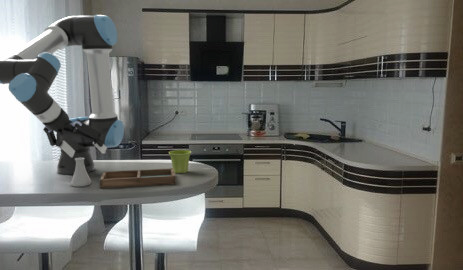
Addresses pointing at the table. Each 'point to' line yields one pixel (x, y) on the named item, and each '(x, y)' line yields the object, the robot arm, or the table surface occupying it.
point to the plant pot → (180, 160)
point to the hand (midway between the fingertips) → (88, 152)
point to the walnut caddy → (137, 178)
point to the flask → (80, 174)
